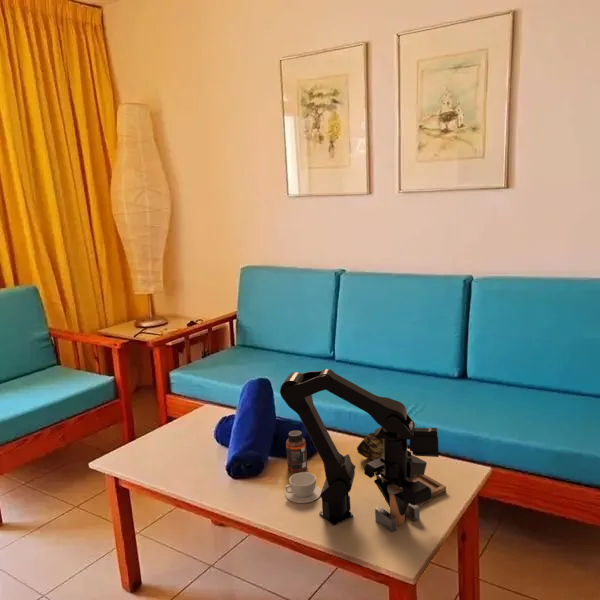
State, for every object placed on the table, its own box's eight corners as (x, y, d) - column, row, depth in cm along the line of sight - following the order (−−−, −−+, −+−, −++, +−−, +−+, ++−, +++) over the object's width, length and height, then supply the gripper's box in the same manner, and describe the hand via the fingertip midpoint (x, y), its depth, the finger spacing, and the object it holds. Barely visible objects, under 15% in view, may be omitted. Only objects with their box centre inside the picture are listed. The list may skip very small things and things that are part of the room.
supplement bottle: (310, 469, 167) (308, 434, 165) (291, 474, 165) (289, 439, 162) (303, 461, 172) (300, 427, 170) (285, 465, 170) (282, 431, 168)
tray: (415, 507, 145) (415, 500, 144) (387, 488, 154) (387, 482, 154) (446, 492, 150) (445, 486, 150) (417, 476, 160) (417, 470, 159)
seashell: (370, 447, 178) (369, 418, 176) (404, 454, 172) (403, 424, 170) (355, 462, 170) (354, 431, 167) (391, 470, 164) (390, 438, 162)
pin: (396, 528, 137) (395, 494, 135) (384, 519, 141) (383, 486, 139) (410, 521, 139) (410, 488, 137) (398, 512, 143) (397, 480, 141)
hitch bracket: (391, 533, 135) (391, 520, 134) (375, 521, 140) (375, 508, 139) (419, 519, 140) (419, 506, 139) (403, 508, 145) (402, 496, 144)
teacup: (313, 481, 161) (312, 466, 160) (327, 498, 152) (326, 483, 151) (280, 490, 157) (279, 474, 156) (292, 508, 148) (291, 492, 147)
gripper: (447, 458, 132) (448, 517, 136) (395, 431, 148) (396, 484, 151) (412, 473, 127) (414, 534, 130) (361, 443, 142) (364, 498, 146)
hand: (397, 511), depth 139 cm, fingers closed on pin, 4 cm apart
